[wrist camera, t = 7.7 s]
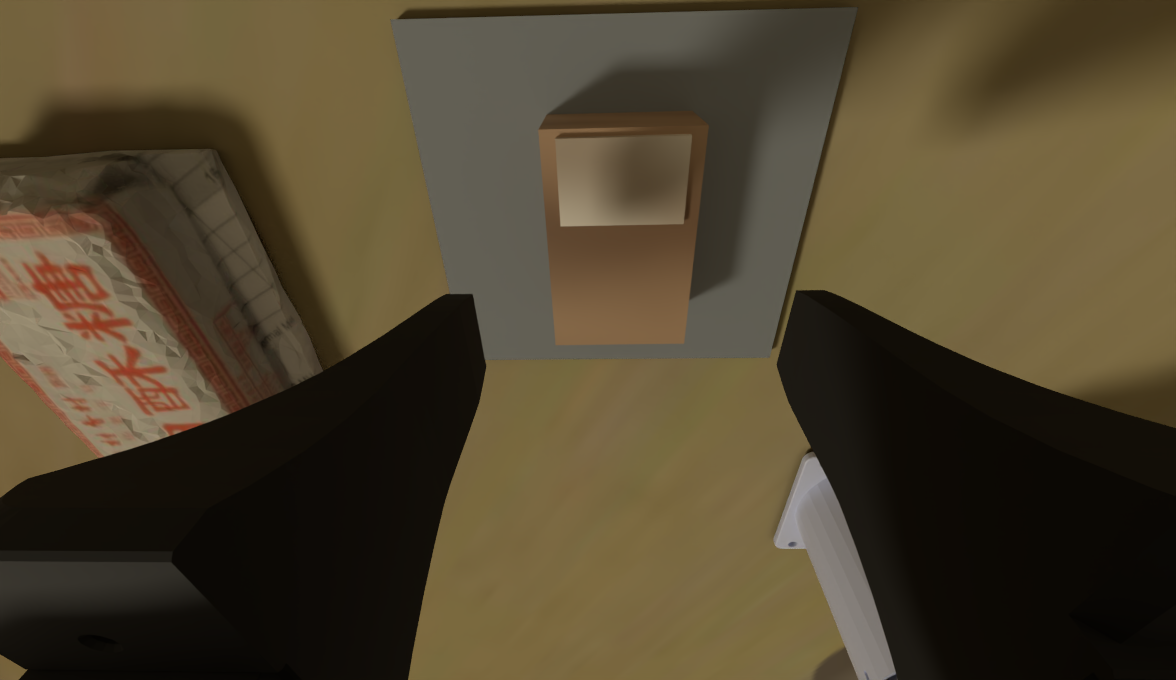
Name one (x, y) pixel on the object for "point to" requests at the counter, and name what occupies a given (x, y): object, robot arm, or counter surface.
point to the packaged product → (140, 294)
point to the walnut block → (621, 223)
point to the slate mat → (618, 85)
